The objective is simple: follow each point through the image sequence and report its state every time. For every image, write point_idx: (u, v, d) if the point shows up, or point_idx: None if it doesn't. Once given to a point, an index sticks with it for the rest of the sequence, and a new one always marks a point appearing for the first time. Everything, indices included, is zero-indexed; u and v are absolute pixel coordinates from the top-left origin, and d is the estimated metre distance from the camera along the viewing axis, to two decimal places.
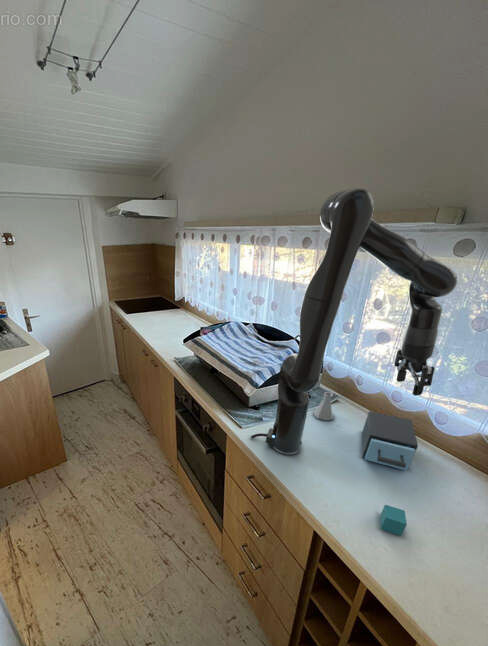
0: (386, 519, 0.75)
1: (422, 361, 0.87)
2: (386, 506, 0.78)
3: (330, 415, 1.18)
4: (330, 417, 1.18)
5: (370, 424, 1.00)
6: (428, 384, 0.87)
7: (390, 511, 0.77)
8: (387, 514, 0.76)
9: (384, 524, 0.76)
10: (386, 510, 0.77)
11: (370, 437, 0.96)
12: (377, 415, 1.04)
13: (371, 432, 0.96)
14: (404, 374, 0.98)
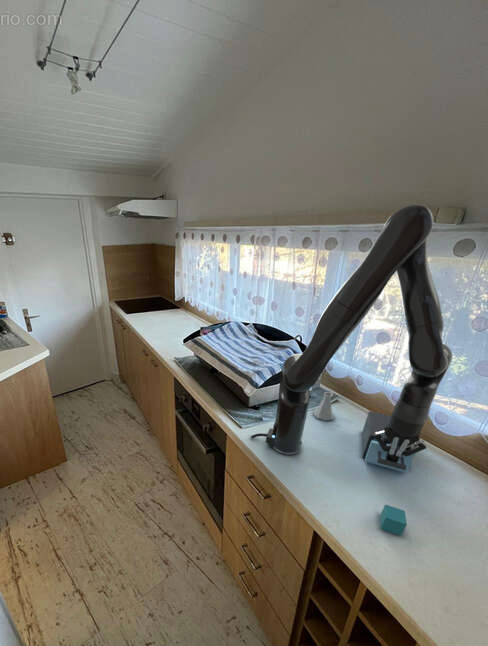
0: (386, 519, 0.75)
1: (387, 426, 0.87)
2: (386, 506, 0.78)
3: (330, 415, 1.18)
4: (330, 417, 1.18)
5: (370, 424, 1.00)
6: None
7: (390, 511, 0.77)
8: (387, 514, 0.76)
9: (384, 524, 0.76)
10: (386, 510, 0.77)
11: (370, 437, 0.96)
12: (377, 415, 1.04)
13: (371, 432, 0.96)
14: None
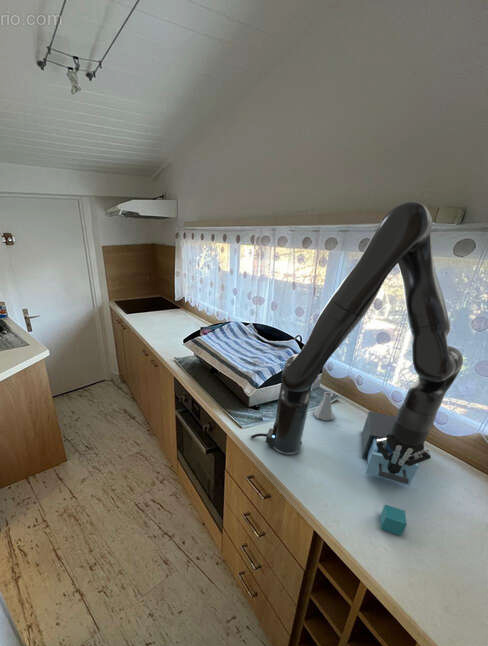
0: (386, 519, 0.75)
1: (389, 433, 0.82)
2: (386, 506, 0.78)
3: (330, 415, 1.18)
4: (330, 417, 1.18)
5: (370, 424, 1.00)
6: None
7: (390, 511, 0.77)
8: (387, 514, 0.76)
9: (384, 524, 0.76)
10: (386, 510, 0.77)
11: (370, 437, 0.96)
12: (377, 415, 1.04)
13: (371, 432, 0.96)
14: None
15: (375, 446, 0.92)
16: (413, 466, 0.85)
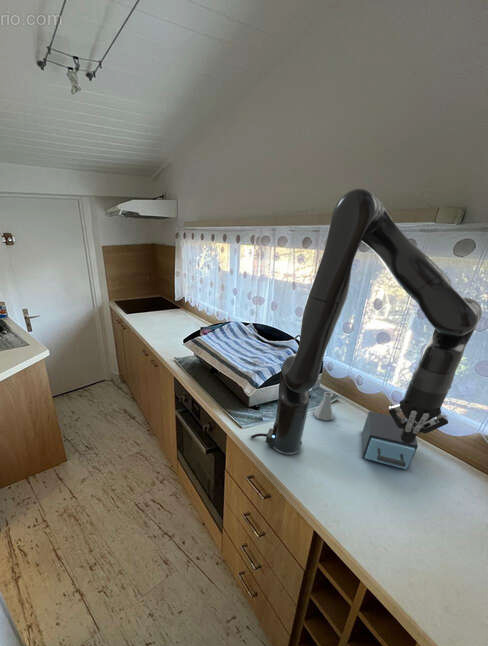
0: None
1: (403, 399, 0.77)
2: None
3: (330, 415, 1.18)
4: (330, 417, 1.18)
5: (370, 424, 1.00)
6: None
7: (385, 440, 0.98)
8: None
9: None
10: None
11: (370, 437, 0.96)
12: (377, 415, 1.04)
13: (371, 432, 0.96)
14: None
15: None
16: (410, 450, 0.91)
